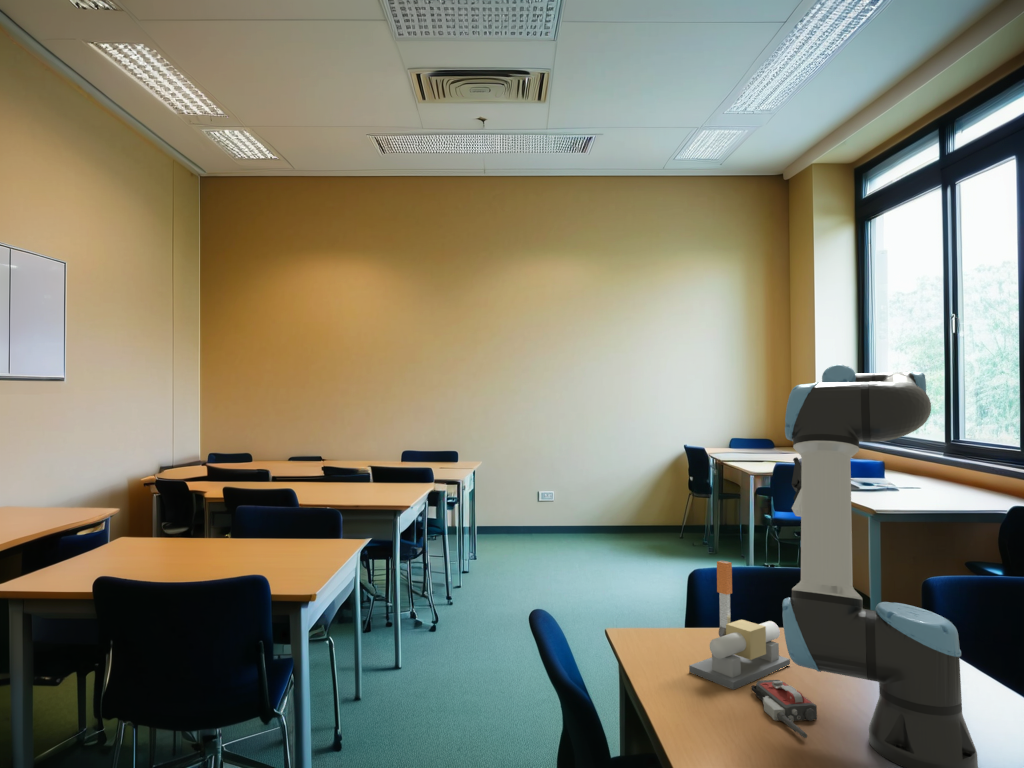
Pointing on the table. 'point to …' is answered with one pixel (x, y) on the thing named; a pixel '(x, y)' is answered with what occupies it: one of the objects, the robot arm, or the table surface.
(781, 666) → the valve rig
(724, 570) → the valve lever
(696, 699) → the table surface
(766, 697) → the walkie-talkie
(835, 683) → the table surface
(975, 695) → the table surface
